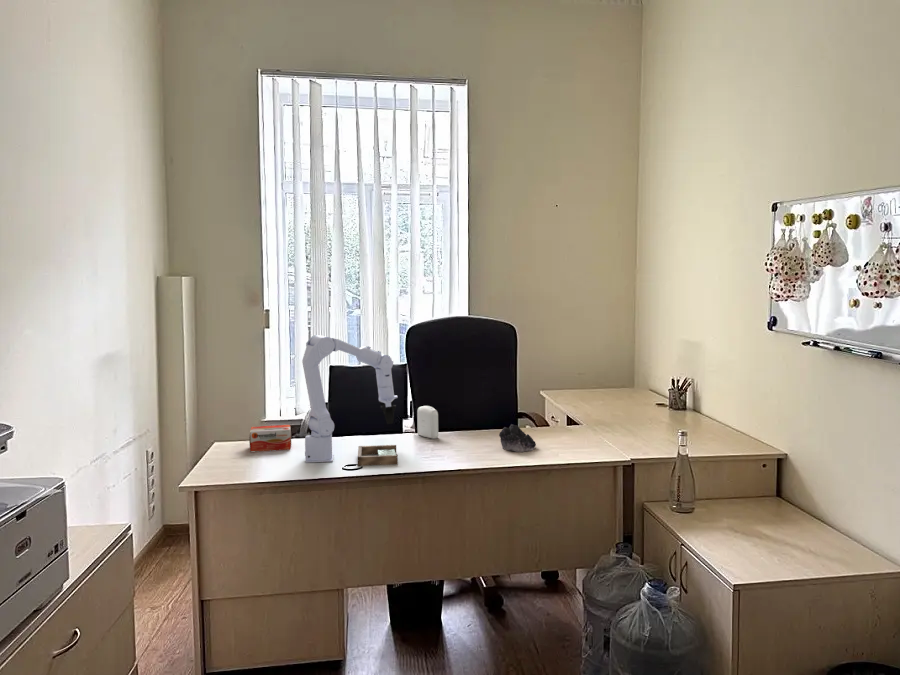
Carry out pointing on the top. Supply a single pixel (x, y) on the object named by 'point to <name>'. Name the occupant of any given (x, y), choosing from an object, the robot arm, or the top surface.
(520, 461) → the top surface
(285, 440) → the medicine box
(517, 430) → the crystal cluster
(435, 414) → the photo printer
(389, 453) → the cover plate
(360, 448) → the walnut box
